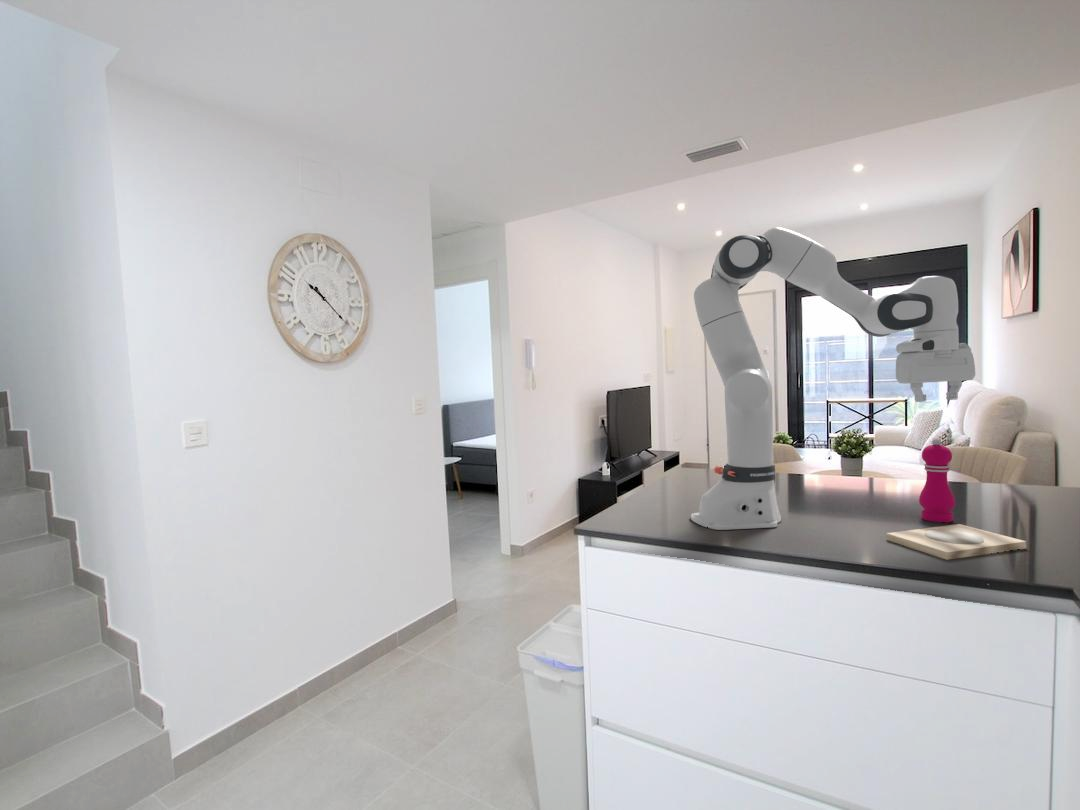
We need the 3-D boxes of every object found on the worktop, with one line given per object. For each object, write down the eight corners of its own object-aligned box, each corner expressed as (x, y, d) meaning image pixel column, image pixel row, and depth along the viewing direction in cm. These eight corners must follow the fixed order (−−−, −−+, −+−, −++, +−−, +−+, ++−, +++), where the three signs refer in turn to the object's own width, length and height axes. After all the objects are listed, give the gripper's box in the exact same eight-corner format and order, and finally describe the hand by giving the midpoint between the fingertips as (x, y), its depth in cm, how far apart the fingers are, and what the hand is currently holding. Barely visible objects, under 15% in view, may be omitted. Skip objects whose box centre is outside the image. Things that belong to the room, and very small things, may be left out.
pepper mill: (961, 523, 130) (961, 440, 129) (927, 523, 132) (927, 440, 131) (945, 515, 138) (945, 436, 137) (913, 515, 139) (913, 437, 138)
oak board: (946, 559, 107) (946, 551, 107) (886, 539, 121) (886, 532, 121) (1026, 548, 111) (1026, 540, 111) (959, 530, 125) (959, 523, 125)
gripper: (957, 343, 138) (958, 398, 139) (890, 346, 133) (891, 402, 134) (983, 341, 132) (983, 398, 133) (913, 344, 127) (914, 403, 128)
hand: (936, 400), depth 133 cm, fingers open, 8 cm apart
